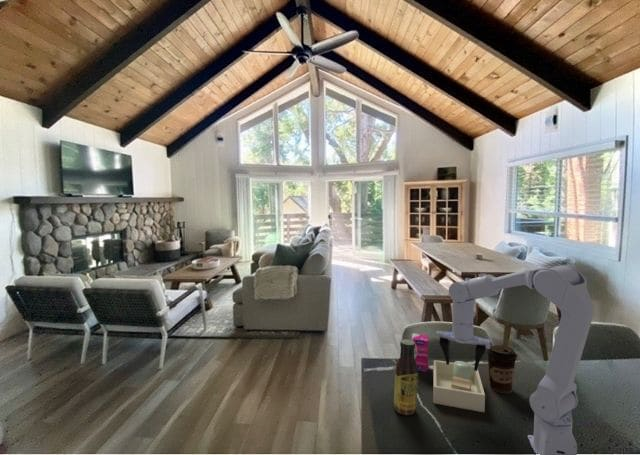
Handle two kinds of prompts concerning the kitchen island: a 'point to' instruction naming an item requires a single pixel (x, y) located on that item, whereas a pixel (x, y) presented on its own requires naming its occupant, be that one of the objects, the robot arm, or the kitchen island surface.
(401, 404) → the sauce bottle
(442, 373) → the box
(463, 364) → the sage cylinder
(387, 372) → the kitchen island surface
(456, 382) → the oak cube
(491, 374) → the coffee cup
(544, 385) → the robot arm
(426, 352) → the supplement box
